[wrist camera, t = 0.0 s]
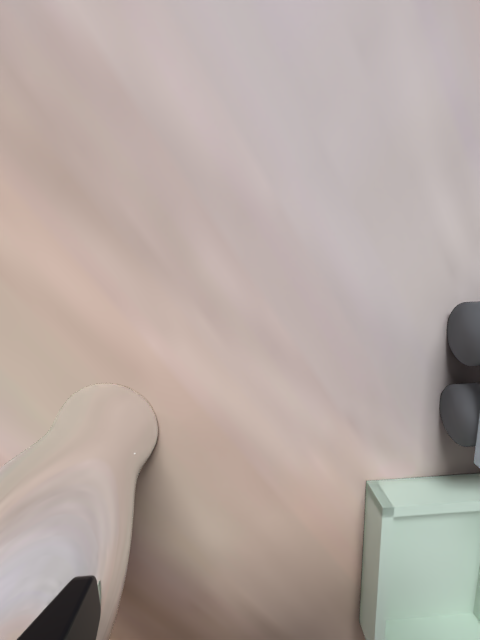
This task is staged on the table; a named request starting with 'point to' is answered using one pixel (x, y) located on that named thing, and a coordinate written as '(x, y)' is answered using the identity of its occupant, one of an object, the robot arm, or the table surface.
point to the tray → (421, 559)
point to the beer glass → (73, 505)
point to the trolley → (463, 399)
